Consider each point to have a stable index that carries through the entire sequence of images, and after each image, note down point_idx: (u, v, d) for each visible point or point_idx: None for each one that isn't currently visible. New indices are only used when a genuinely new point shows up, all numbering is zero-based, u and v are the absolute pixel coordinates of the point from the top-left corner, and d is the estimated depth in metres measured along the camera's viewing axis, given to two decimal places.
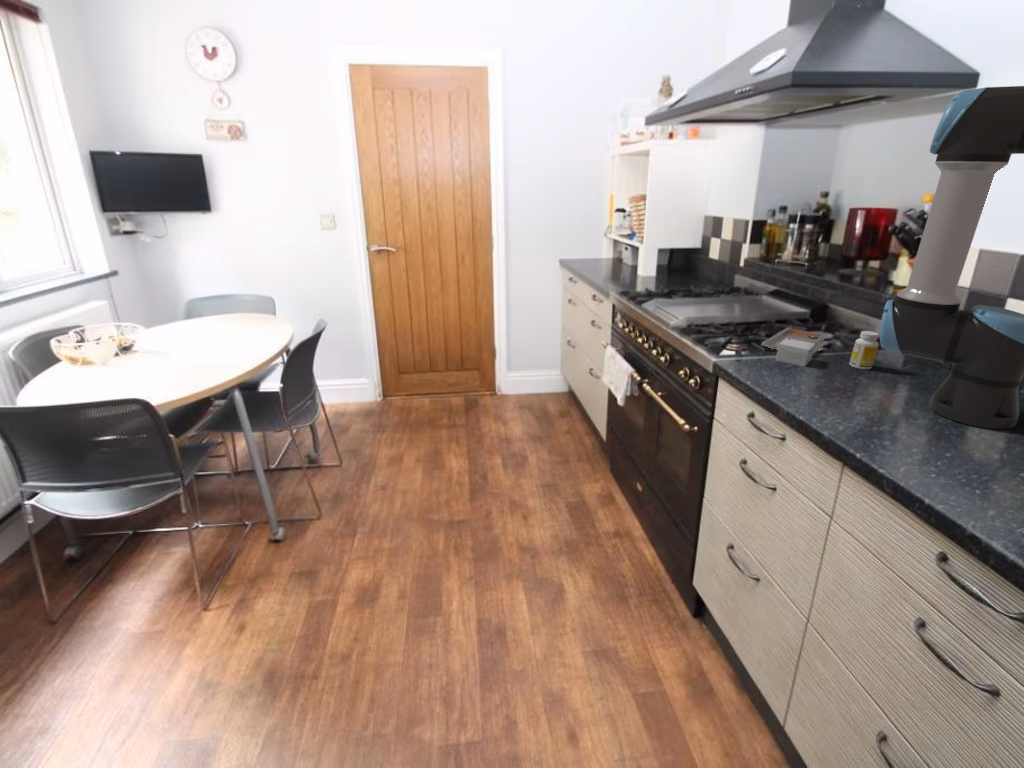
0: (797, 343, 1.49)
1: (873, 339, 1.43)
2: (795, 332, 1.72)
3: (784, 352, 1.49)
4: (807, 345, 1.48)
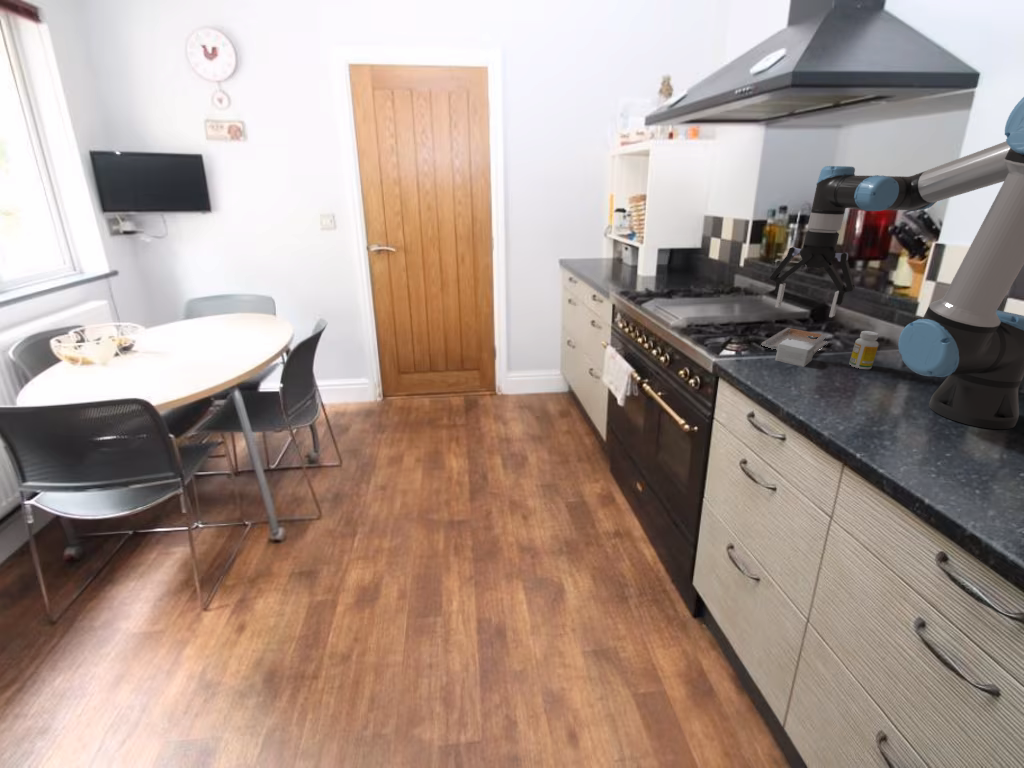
0: (797, 343, 1.49)
1: (873, 339, 1.43)
2: (795, 332, 1.72)
3: (784, 352, 1.49)
4: (807, 345, 1.48)
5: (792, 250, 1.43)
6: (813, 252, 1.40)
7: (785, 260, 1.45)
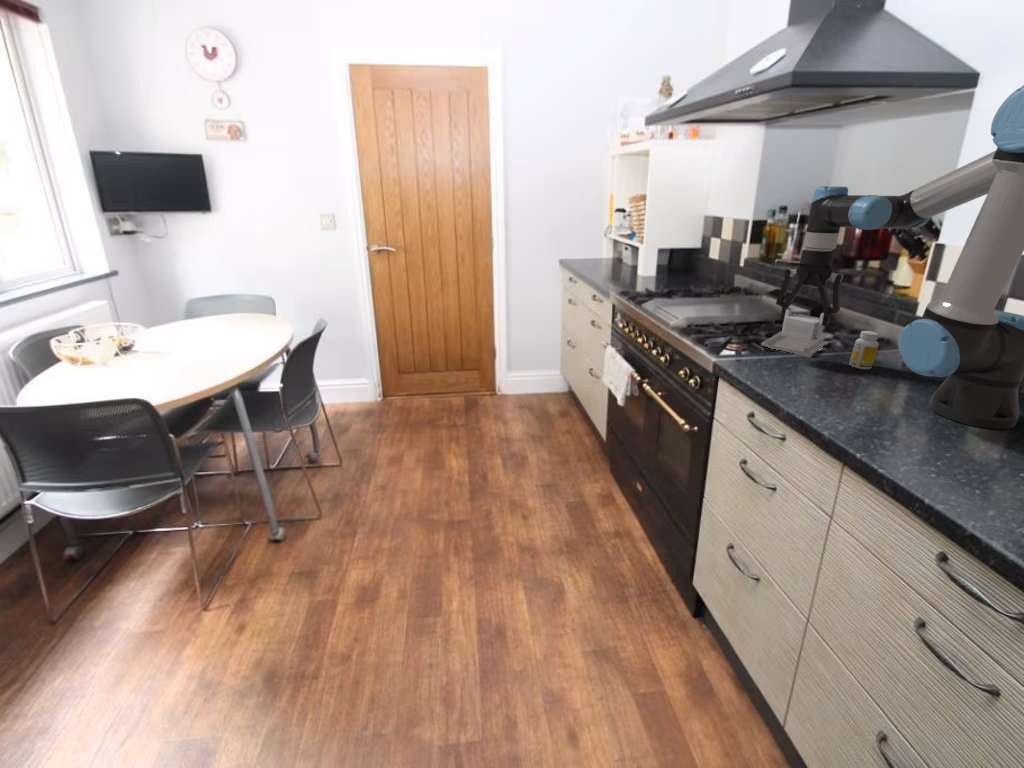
0: (804, 317, 1.46)
1: (873, 339, 1.43)
2: None
3: (790, 326, 1.45)
4: (814, 319, 1.44)
5: (788, 272, 1.45)
6: (809, 268, 1.41)
7: (785, 283, 1.46)
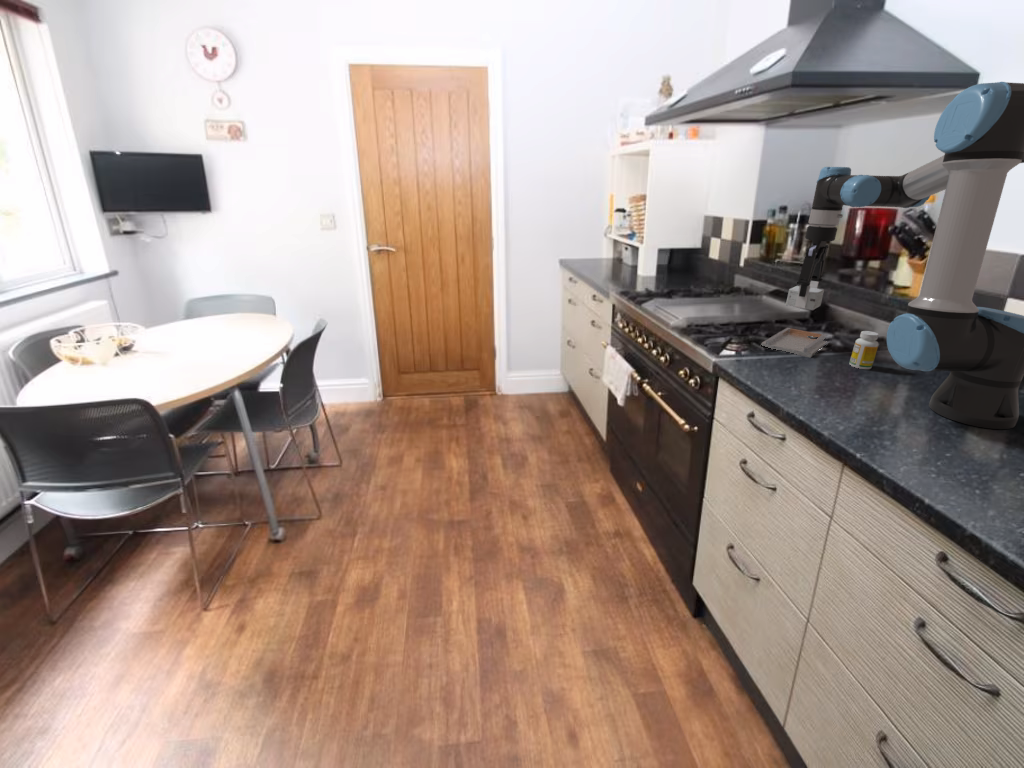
0: None
1: (873, 339, 1.43)
2: (795, 332, 1.72)
3: None
4: None
5: None
6: None
7: None
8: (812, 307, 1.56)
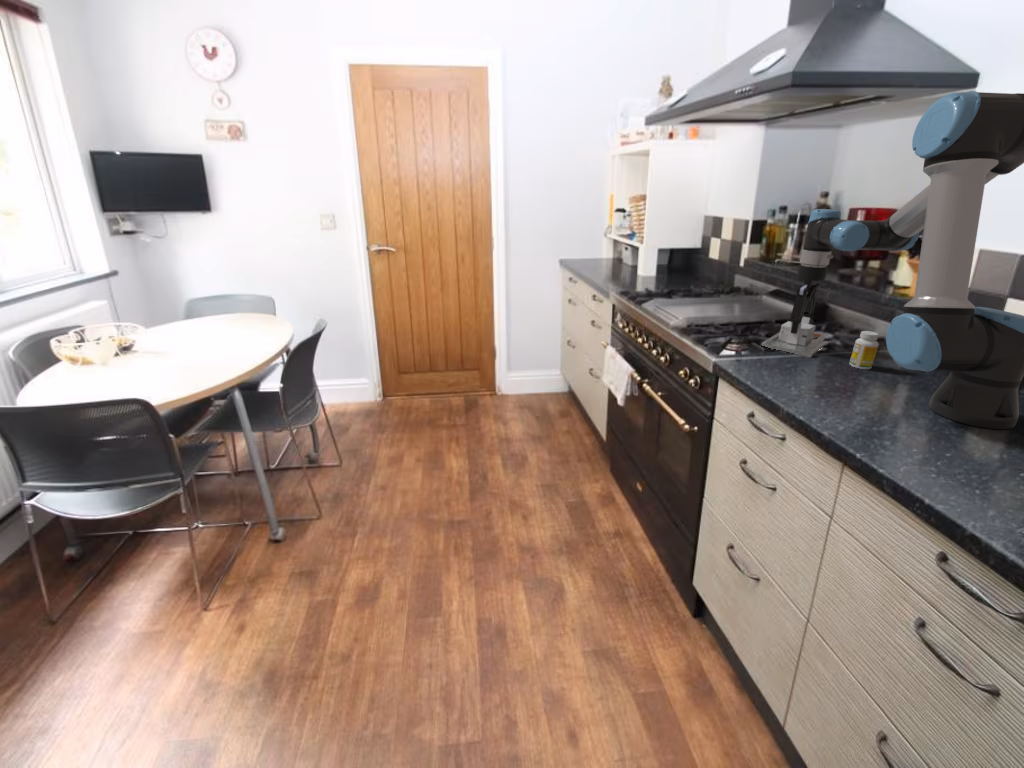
0: None
1: (873, 339, 1.43)
2: None
3: None
4: None
5: None
6: None
7: None
8: (804, 343, 1.60)
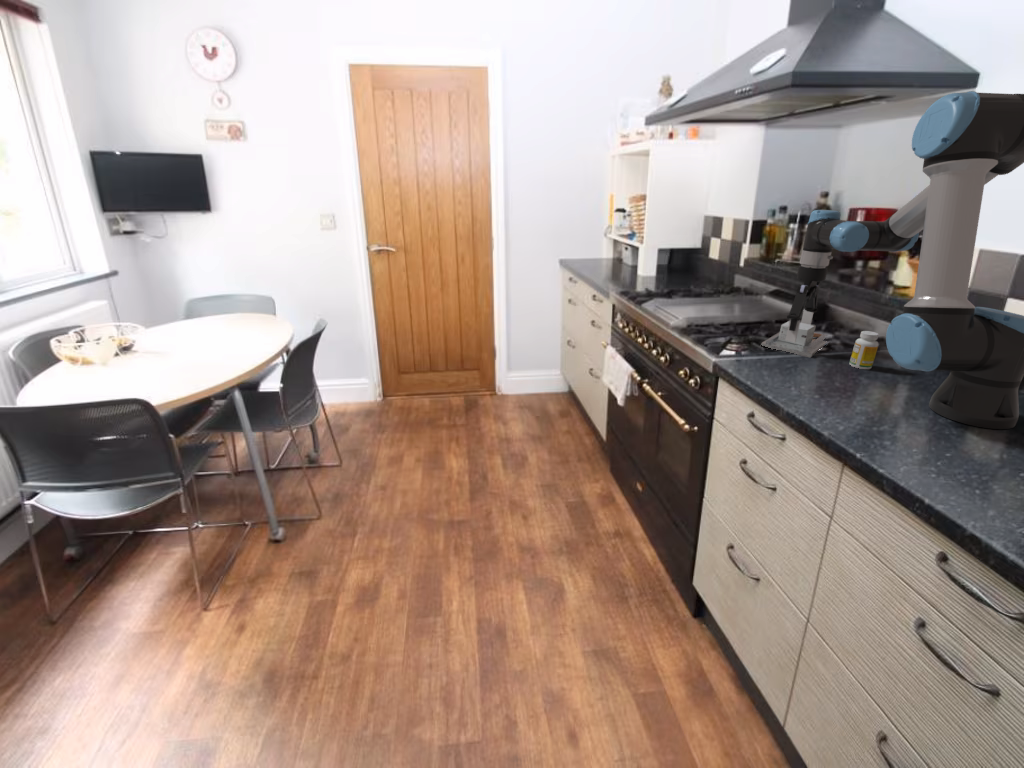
0: None
1: (873, 339, 1.43)
2: None
3: None
4: None
5: None
6: None
7: None
8: (803, 343, 1.60)
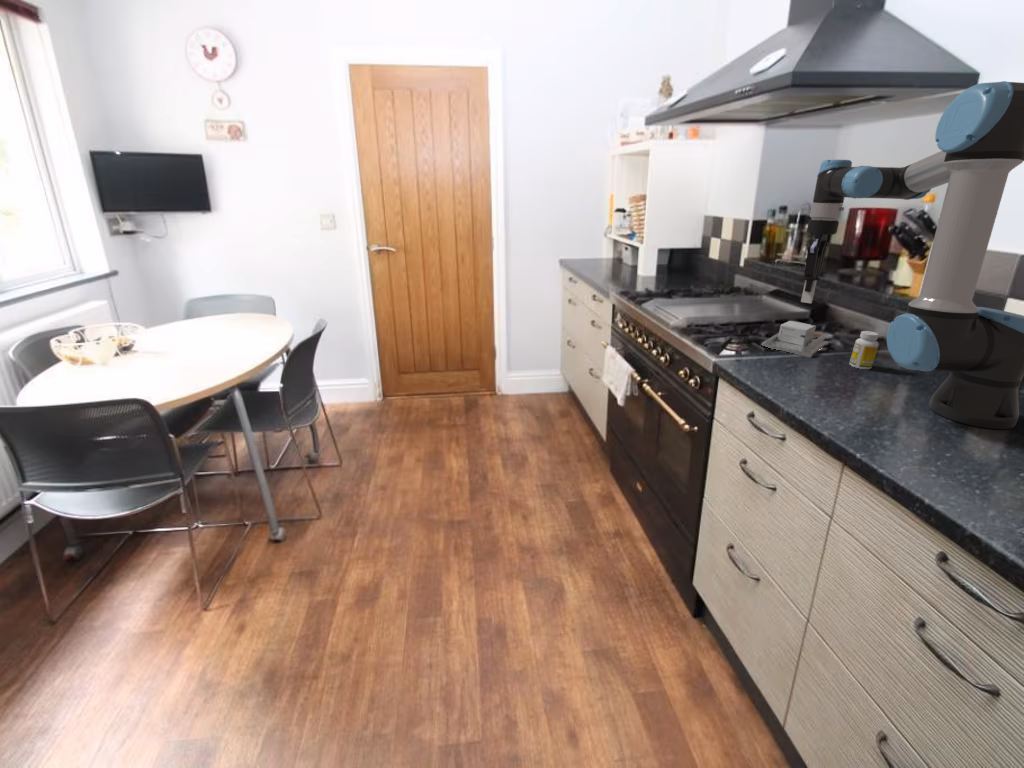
0: (798, 324, 1.63)
1: (873, 339, 1.43)
2: None
3: None
4: (795, 326, 1.61)
5: None
6: None
7: None
8: (802, 343, 1.60)
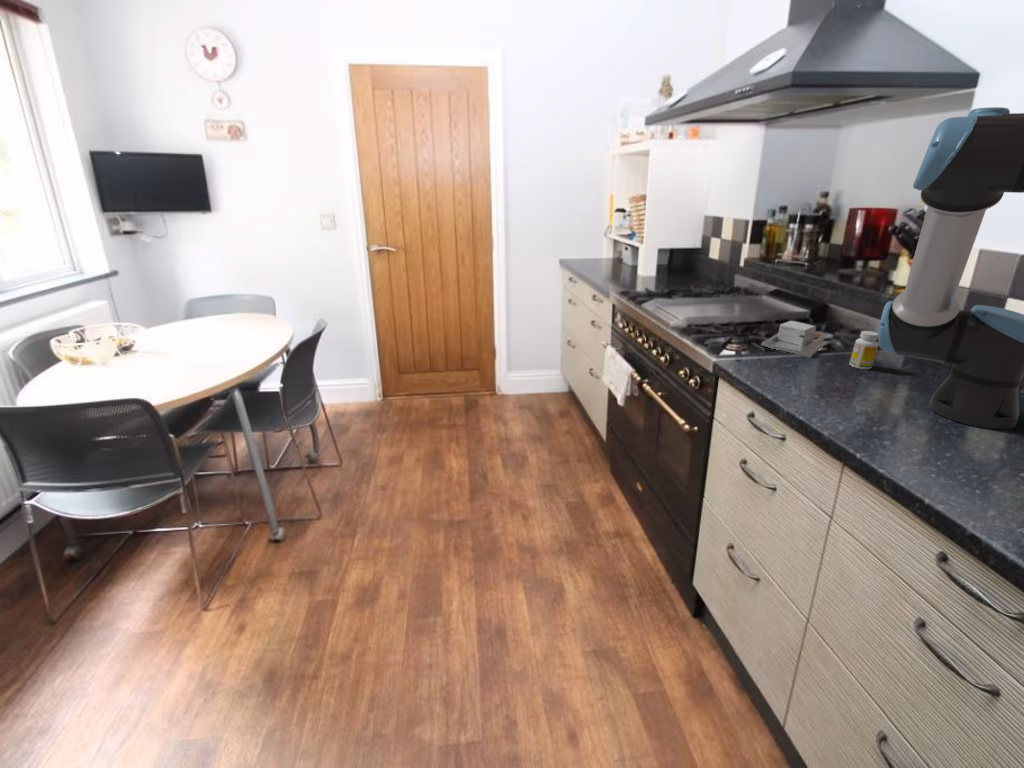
0: (798, 324, 1.63)
1: (873, 339, 1.43)
2: None
3: None
4: (795, 326, 1.61)
5: None
6: None
7: None
8: (801, 343, 1.60)
